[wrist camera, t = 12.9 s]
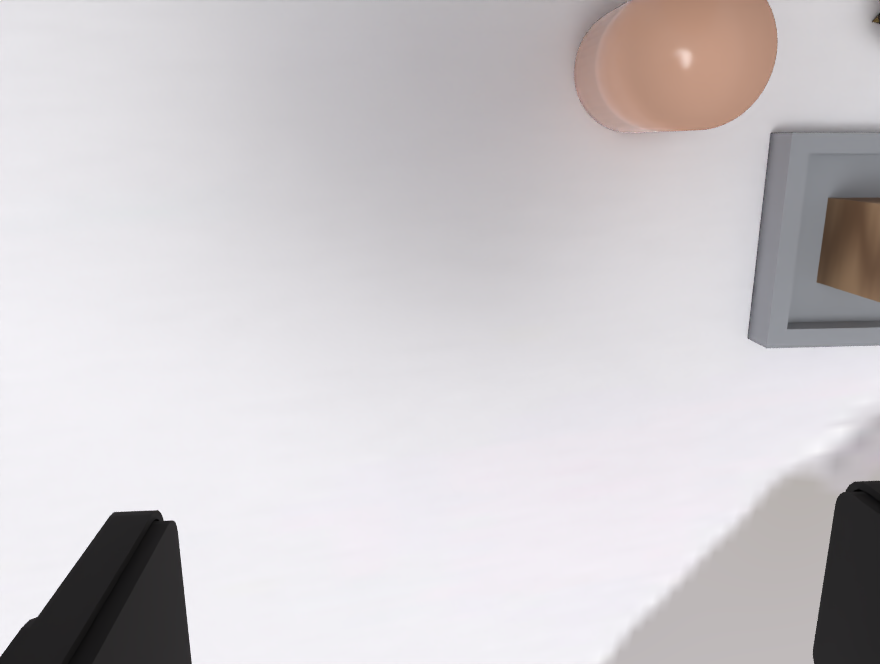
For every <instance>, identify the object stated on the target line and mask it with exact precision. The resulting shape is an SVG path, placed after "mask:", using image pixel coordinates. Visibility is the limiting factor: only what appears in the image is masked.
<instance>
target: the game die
mask: <svg viewBox="0 0 880 664" xmlns="http://www.w3.org/2000/svg"><path fill="white" fill-rule="evenodd" d="M872 22H876V23H879V24H880V14H879V15H878V16H877V17H876V18H875V19H874V20H873V21H872Z"/></svg>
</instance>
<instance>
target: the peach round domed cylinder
mask: <svg viewBox="0 0 880 664" xmlns="http://www.w3.org/2000/svg"><path fill="white" fill-rule="evenodd" d="M776 53H777V29H776V24H775V19H774V16H773V13H772V10H771V8H770V6H769V4H768V2H767V0H630V1H629V2H627V3H625V4H623V5H621V6H620V7H618V8H616V9H614V10H613V11H611V12H609V13H607V14H606V15H604V16H603V17H601V18H600V19H599V20H598V21H597V22H596V23H595V24H594V25H593V26H592V27H591V28H590V29H589V30H588V32H587V33H586V35H585V36H584V38H583V40H582V42H581V44H580V46H579V49H578V52H577V55H576V60H575V67H574V80H575V87H576V90H577V94H578V97H579V99H580V102H581V103H582V105H583V107H584V109H585V110H586V111H587V112H588V114H589V115H590V116H591V117H592V118H593V119H594V120H595V121H597V122H598V123H599V124H601V125H602V126H604V127H606V128H608V129H611V130H614V131H618V132H623V133H639V132H664V131H688V130H706V129H711V128H715V127H718V126H721V125H724V124H726V123H728V122H730V121H732V120H734V119H735V118H737V117H738V116H740V115H741V114H743V113H744V112H745V111H746V110H747V109H748V108H749V107H750V106H751V105H752V104H753V103H754V102H755V101H756V100H757V98H758V97H759V96H760V94H761V93H762V92H763V90H764V88H765V86H766V84H767V83H768V81H769V78H770V76H771V73H772V71H773V67H774V64H775V59H776Z"/></svg>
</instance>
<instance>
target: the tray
mask: <svg viewBox="0 0 880 664" xmlns="http://www.w3.org/2000/svg"><path fill="white" fill-rule="evenodd" d="M828 198H880V133H853V132H791V133H771V137H770V146H769V155H768V164H767V173H766V181H765V190H764V199H763V208H762V217H761V226H760V234H759V243H758V252H757V261H756V270H755V279H754V287H753V296H752V305H751V314H750V323H749V332H748V339H750V340H752V341H754V342H756V343H758V344H760V345H762V346H763V347H765V348H793V347H834V346H875V345H880V302H877V301H874V300H870V299H867V298H864V297H861V296H858V295H855V294H852V293H849V292H845V291H842V290H839V289H836V288H833V287H830V286H827V285H823V284H820V283H817V282H816V281H817V274H818V267H819V260H820V253H821V245H822V238H823V231H824V224H825V217H826V209H827V202H828Z"/></svg>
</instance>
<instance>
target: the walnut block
mask: <svg viewBox="0 0 880 664" xmlns="http://www.w3.org/2000/svg"><path fill="white" fill-rule="evenodd" d="M816 282H817V283H820V284H823V285H827V286H830V287H833V288H836V289H839V290H842V291H845V292H849V293H852V294H855V295H858V296H861V297H864V298H867V299H870V300H874V301H877V302H880V198H828V202H827V209H826V217H825V224H824V231H823V238H822V245H821V253H820V260H819V267H818V274H817V281H816Z"/></svg>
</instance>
